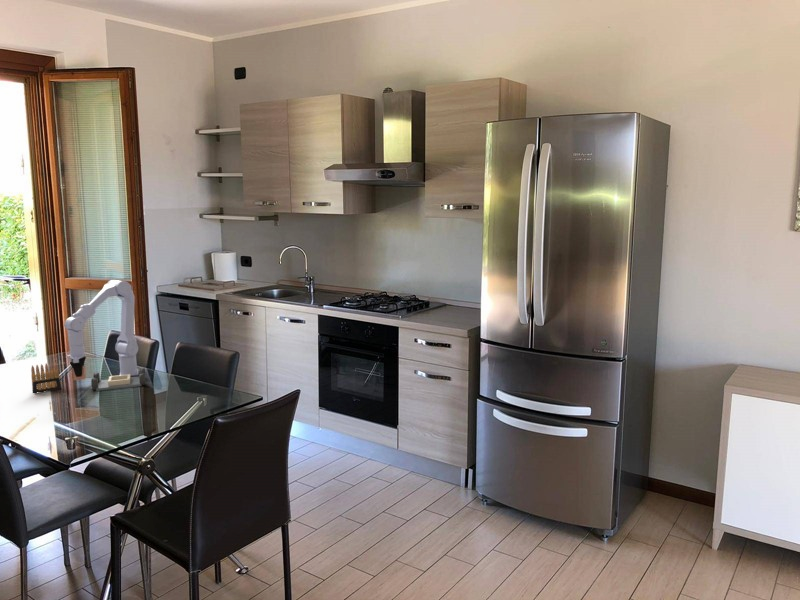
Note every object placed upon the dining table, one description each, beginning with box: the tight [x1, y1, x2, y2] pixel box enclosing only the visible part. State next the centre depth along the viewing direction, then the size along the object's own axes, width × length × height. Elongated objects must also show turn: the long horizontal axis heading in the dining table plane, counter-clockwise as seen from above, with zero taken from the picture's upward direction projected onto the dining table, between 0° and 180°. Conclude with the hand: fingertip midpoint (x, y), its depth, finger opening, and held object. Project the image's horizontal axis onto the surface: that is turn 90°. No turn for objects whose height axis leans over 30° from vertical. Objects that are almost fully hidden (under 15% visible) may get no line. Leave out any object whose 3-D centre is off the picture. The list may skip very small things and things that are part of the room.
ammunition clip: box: [30, 361, 62, 394], centre depth 284 cm, size 11×2×12 cm, turn 127°
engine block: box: [72, 365, 87, 381], centre depth 289 cm, size 4×4×6 cm
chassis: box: [90, 367, 147, 392], centre depth 292 cm, size 14×21×5 cm, turn 109°
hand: (79, 375), depth 289 cm, fingers closed on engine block, 4 cm apart
